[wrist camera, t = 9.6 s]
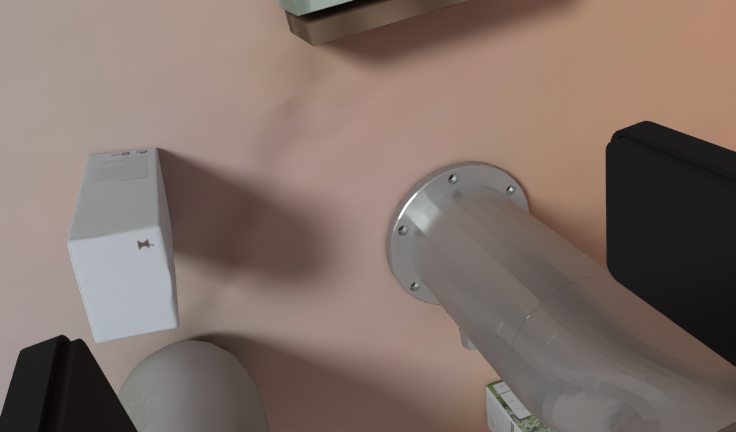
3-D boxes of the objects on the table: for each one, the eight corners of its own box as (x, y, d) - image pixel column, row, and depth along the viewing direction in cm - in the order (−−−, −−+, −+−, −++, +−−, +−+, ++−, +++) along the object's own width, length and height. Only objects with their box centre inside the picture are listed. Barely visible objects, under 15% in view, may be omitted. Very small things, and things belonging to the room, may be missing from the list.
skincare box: (85, 153, 36) (63, 238, 26) (157, 145, 37) (163, 223, 27) (106, 240, 39) (93, 347, 29) (172, 229, 40) (183, 329, 30)
